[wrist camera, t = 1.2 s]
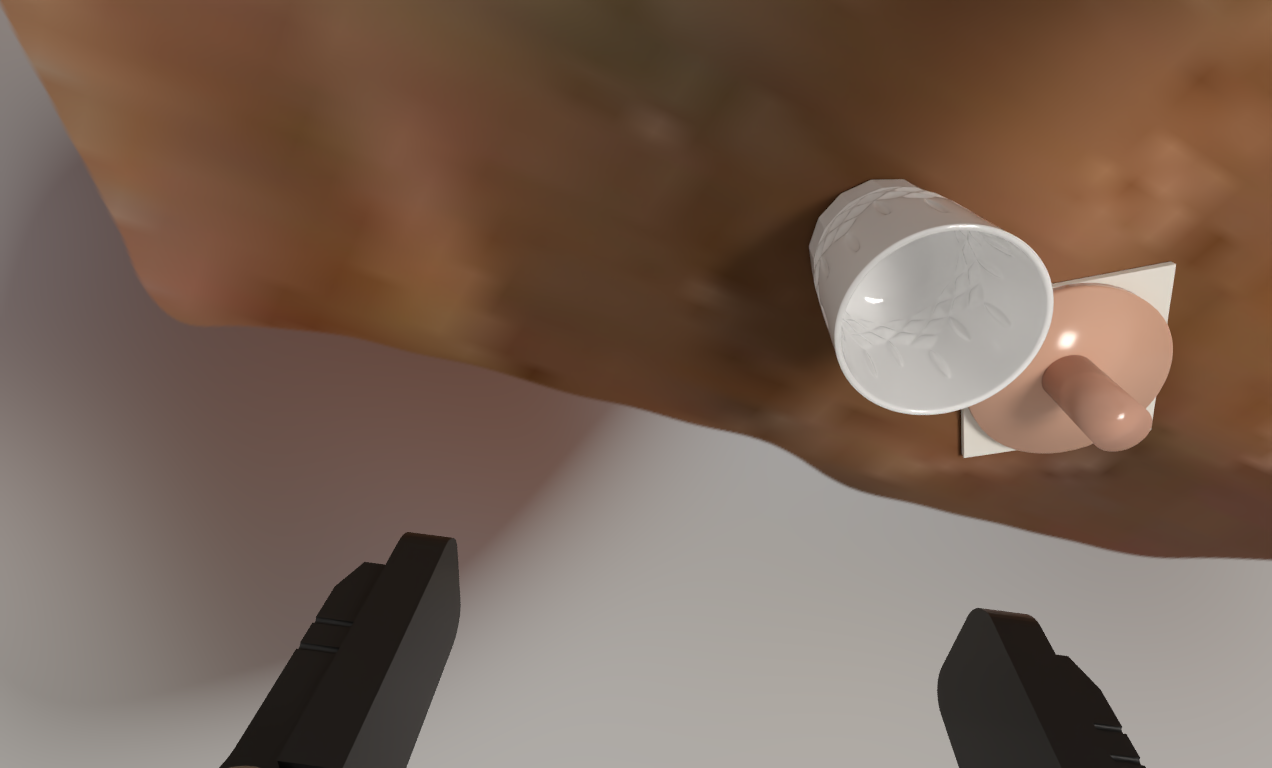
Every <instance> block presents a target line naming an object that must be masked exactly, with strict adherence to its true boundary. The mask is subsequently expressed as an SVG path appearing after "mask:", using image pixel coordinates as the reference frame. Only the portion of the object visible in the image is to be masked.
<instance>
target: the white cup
mask: <svg viewBox="0 0 1272 768" xmlns="http://www.w3.org/2000/svg"><path fill="white" fill-rule="evenodd" d="M809 253H810V260H811V268H812V275H813V278H814V284H815V288H816V292H817V296H818V299H819V303H820V306H821V311H822V314H823V317H824V320H825V323H826V326H827V329H828V332H829V335H830V338H831V341H832V344H833V347H834V350H835V353H836V356H837V359H838V362H839V365H840V367H841V370H842V372H843V373H844V375H845V377H846V378H847V380H848V381H849V382H850V384H851V385H852V386H853V387H854V388H855V389H856V390H857V391H858V392H859V393H860V394H861V395H863V396H864V397H865V398H867V399H868V400H870V401H871V402H873V403H875V404H877V405H879V406H881V407H883V408H886V409H889V410H892V411H895V412H900V413H905V414H913V415H934V414H942V413H948V412H953V411H957V410H960V409H964V408H967V407H969V406H972V405H975V404H977V403H979V402H981V401H983V400H985V399H987V398H989V397H991V396H993V395H994V394H996V393H998V392H999V391H1001V390H1002V389H1003V388H1005V387H1006V386H1008V385H1009V384H1010V383H1011V382H1012V381H1014V380H1015V379H1016V378H1017V377H1018V376H1019V375H1020V374H1021V373H1022V372H1023V371H1024V370H1025V369H1026V368H1027V367H1028V365H1029V364H1030V363H1031V362H1032V360H1033V359H1034V358H1035V356H1036V355H1037V353H1038V351H1039V350H1040V348H1041V346H1042V344H1043V342H1044V340H1045V338H1046V336H1047V333H1048V331H1049V328H1050V324H1051V320H1052V315H1053V306H1054V297H1053V288H1052V283H1051V280H1050V277H1049V274H1048V271H1047V269H1046V267H1045V265H1044V264H1043V262H1042V260H1041V259H1040V257H1039V256H1038V255H1037V254H1036V253H1035V251H1034V250H1033V249H1032V248H1031V247H1030V246H1028V245H1027V244H1026V243H1025V242H1023V241H1022V240H1021V239H1019V238H1018V237H1016V236H1014V235H1012V234H1011V233H1009V232H1007V231H1005V230H1003V229H1002V228H1000V227H998V226H996V225H994V224H993V223H991V222H989V221H987V220H986V219H984V218H982V217H980V216H979V215H977V214H975V213H973V212H971V211H970V210H968V209H966V208H964V207H963V206H961V205H959V204H957V203H955V202H954V201H952V200H950V199H947V198H945V197H943V196H941V195H939V194H937V193H935V192H931V191H926V190H924V189H922V188H920V187H918V186H916V185H914V184H912V183H910V182H908V181H906V180H904V179H875V180H869V181H867V182H865V183H863V184H860V185H858V186H856V187H854V188H852V189H850V190H847V191H845V192H843V193H841V194H840V195H839V196H838V197H837V198H836V199H835V200H834V201H833V202H832V204H831V205H830V206H829V207H828V208H827V209H826V210H825V211H824V212H823V213H822V214H821V216H820V217H819V218H818V221H817V224H816V227H815V229H814V232H813V235H812V238H811V241H810V244H809Z"/></svg>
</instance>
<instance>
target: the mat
mask: <svg viewBox="0 0 1272 768" xmlns="http://www.w3.org/2000/svg"><path fill="white" fill-rule="evenodd" d="M1175 268H1176V264H1175V263H1173V262H1166V263H1160V264H1155V265H1150V266H1144V267H1139V268H1134V269H1128V270H1123V271H1118V272H1112V273H1107V274H1102V275H1096V276H1091V277H1086V278H1081V279H1075V280H1070V281H1065V282H1059V283H1054V284H1052V288H1055V287H1059V286H1063V285H1068V284H1076V283H1103V284H1109V285H1113V286H1118V287H1121V288H1123V289H1126V290H1128V291H1131V292H1132V293H1134V294H1136V295H1137V296H1139V297H1140V298H1142V299H1144V300H1145V301H1147V302H1148V303H1150V304H1151V305H1152V306H1153V307H1154V308H1155V309H1157V310H1158V311H1159V313H1160V314H1161V315H1162V317H1163V318H1164V319H1165V321H1166V323H1167V320H1168V314H1169V307H1170V301H1171V294H1172V287H1173V281H1174V274H1175ZM1155 400H1156V397H1155V398H1154V400H1153V401H1152V402H1151V404H1150V405H1149V406H1148V407H1147V408H1146V410H1147V411H1148V412H1149V413H1150V415H1151V417H1152V420H1153V413H1154V406H1155ZM1150 430H1151V429H1150ZM961 440H962V455H963V457H964V458H967V457H974V456H980V455H987V454H994V453H1000V452H1007V451H1014V450H1015V449H1012V448H1009V447H1007V446H1004V445H1002V444H1000V443H999V442H997V441H995V440H994V439H992V438H991V437H990V436H988V435H987V434H986V433H985V432H984V431H983V430H982V429H981V427H980V426H979V424H978V423H977V422H976V420H975V419H974V417H973V416H972V414H971V413H970V411H969V409H968V407H967V408H964V409H961Z"/></svg>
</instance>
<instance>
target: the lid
mask: <svg viewBox="0 0 1272 768" xmlns="http://www.w3.org/2000/svg"><path fill="white" fill-rule="evenodd" d="M1053 297H1054V306H1053V315H1052V320H1051V324H1050V328H1049V331H1048V333H1047V336H1046V338H1045V340H1044V342H1043V344H1042V346H1041V348H1040V350H1039V351H1038V353H1037V355H1036V356H1035V358H1034V359H1033V360H1032V362H1031V363H1030V364H1029V365H1028V367H1027V368H1026V369H1025V370H1024V371H1023V372H1022V373H1021V374H1020V375H1019V376H1018V377H1017V378H1016V379H1015V380H1014V381H1012V382H1011V383H1010V384H1009V385H1008V386H1006V387H1005V388H1003V389H1002V390H1001V391H999V392H998V393H996V394H994V395H993V396H991V397H989V398H987V399H985V400H983V401H981V402H979V403H977V404H975V405H972V406H969V407H968V409H969V411H970V413H971V414H972V416H973V417H974V419H975V420H976V422H977V423H978V424H979V426H980V427H981V429H982V430H983V431H984V432H985V433H986V434H987V435H988V436H990V437H991V438H992V439H994V440H995V441H997V442H999V443H1000V444H1002V445H1004V446H1007V447H1009V448H1012V449H1015V450H1019V451H1024V452H1030V453H1058V452H1065V451H1070V450H1075V449H1079V448H1082V447H1085V446H1088V445H1091V444H1094V445H1095V446H1097V447H1098V448H1100V449H1102V450H1105V451H1121V450H1125V449H1128V448H1131V447H1133V446H1135V445H1136V444H1138V443H1139V442H1141V441H1142V440H1143V439H1144V438H1145V437H1146V436H1147V434H1148V433H1149V431H1150V429H1151V426H1152V417H1151V415H1150V413H1149V412H1148V411H1147V410H1146V408H1147V407H1148V406H1149V405H1150V404H1151V402H1152V401H1153V400H1154V398H1155V397H1156V396H1157V394H1158V393H1159V391H1160V390H1161V388H1162V386H1163V384H1164V382H1165V380H1166V378H1167V375H1168V373H1169V370H1170V366H1171V362H1172V354H1173V344H1172V337H1171V333H1170V330H1169V327H1168V325H1167V323H1166V321H1165V319H1164V318H1163V317H1162V315H1161V314H1160V313H1159V311H1158V310H1157V309H1155V308H1154V307H1153V306H1152V305H1151V304H1150V303H1148V302H1147V301H1145V300H1144V299H1142V298H1140V297H1139V296H1137V295H1136V294H1134V293H1132V292H1131V291H1128V290H1126V289H1123V288H1121V287H1118V286H1113V285H1109V284H1103V283H1076V284H1068V285H1063V286H1059V287H1055V288H1053Z"/></svg>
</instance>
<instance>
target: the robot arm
mask: <svg viewBox="0 0 1272 768" xmlns="http://www.w3.org/2000/svg"><path fill="white" fill-rule="evenodd" d="M459 617H460V588H459V570H458V554H457V543H456V540H455V539H454V538H449V537H442V536H434V535H426V534H418V533H411V532H407V533H405V534H404V535H403V536H402V537H401V538H400V540H399V542H398V544H397V545H396V547H395V549H394V551H393V552H392V554H391V556H390V558H389V560H388V561H387V563H386V565H383V564H376V563H368V562H364V563H363V564H362V565H361V566H359V567H358V568H357V569H356V570H355V571H353V572H352V573H351V574H350V575H348V576H347V577H346V578H345V579H343V580H342V581H341V582H340V583H339V584H337V585H336V586H335V587H334V589H333V591H332V592H331V594H330V596H329V597H328V599H327V600H326V602H325V603H324V605H323V607H322V608H321V610H320V612H319V613H318V615H317V616H316V621H315V623H312V625H311V626H310V628H309V629H308V631H307V633H306V634H305V636H304V637H303V639H302V641H301V644H300V647H299V649H296V650H295V652H294V653H293V655H292V657H291V658H290V660H289V662H288V663H287V665H286V666H285V668H284V670H283V671H282V673H281V674H280V676H279V678H278V679H277V681H276V682H275V684H274V686H273V687H272V689H271V691H270V692H269V694H268V695H267V697H266V699H265V700H264V702H263V704H262V705H261V707H260V708H259V710H258V711H257V713H256V715H255V717H254V718H253V720H252V721H251V723H250V725H249V726H248V728H247V729H246V731H245V733H244V734H243V736H242V737H241V739H240V741H239V742H238V744H237V745H236V747H235V749H234V750H233V751H232V753H231V754H230V756H229V757H228V758H227V759H226V761H225V762H224V763H223V764H222V765H221V766H220V767H219V768H406V767H407V764H408V761H409V759H410V756H411V753H412V751H413V748H414V746H415V743H416V741H417V738H418V735H419V733H420V730H421V727H422V725H423V722H424V720H425V717H426V714H427V711H428V709H429V706H430V704H431V701H432V699H433V696H434V693H435V691H436V688H437V685H438V683H439V680H440V678H441V675H442V672H443V670H444V667H445V664H446V662H447V659H448V656H449V654H450V651H451V649H452V646H453V643H454V640H455V637H456V633H457V628H458V623H459ZM937 691H938V692H937V693H938V703H939V708H940V712H941V715H942V718H943V721H944V724H945V727H946V730H947V733H948V736H949V739H950V742H951V745H952V748H953V751H954V754H955V757H956V760H957V763H958V766H959V768H1146V767H1145V766H1142V765H1141V764H1140V761H1139V759H1140V757H1139V755H1138V754H1137V752H1136V750H1135V748H1134V747H1133V745H1132V743H1131V741H1130V740H1129V738H1128V737H1127V734H1123V733H1122V730H1121V728H1122V726H1121V724H1120V722H1119V721H1118V719H1117V717H1116V716H1115V714H1114V712H1113V710H1112V709H1111V707H1110V705H1109V704H1108V702H1107V700H1106V698H1105V697H1104V695H1103V693H1102V691H1101V690H1100V689H1099V688H1098V687H1097V686H1096V685H1095V684H1094V683H1093V682H1092V680H1091V679H1090V678H1089V677H1088V676H1087V675H1086V674H1085V673H1084V672H1083V671H1082V670H1081V669H1080V668H1079V667H1078V666H1077V665H1076V664H1075V663H1074V662H1073V661H1072V660H1071V659H1070V658H1069V657H1068V656H1062V655H1056V654H1055V652H1054V650H1053V649H1052V647H1051V645H1050V643H1049V641H1048V639H1047V637H1046V636H1045V634H1044V632H1043V630H1042V628H1041V627H1040V625H1039V623H1038V622H1037V621H1036V620H1035V619H1034V618H1033V617H1032V616H1030V615H1027V614H1020V613H1012V612H1005V611H996V610H989V609H982V608H976V609H974V610H972V611H971V612H970V614H969V615H968V617H967V619H966V621H965V623H964V625H963V627H962V629H961V631H960V633H959V634H958V636H957V639H956V640H955V642H954V644H953V646H952V648H951V650H950V652H949V654H948V656H947V658H946V660H945V662H944V664H943V666H942V668H941V670H940V674H939V678H938V689H937Z"/></svg>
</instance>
